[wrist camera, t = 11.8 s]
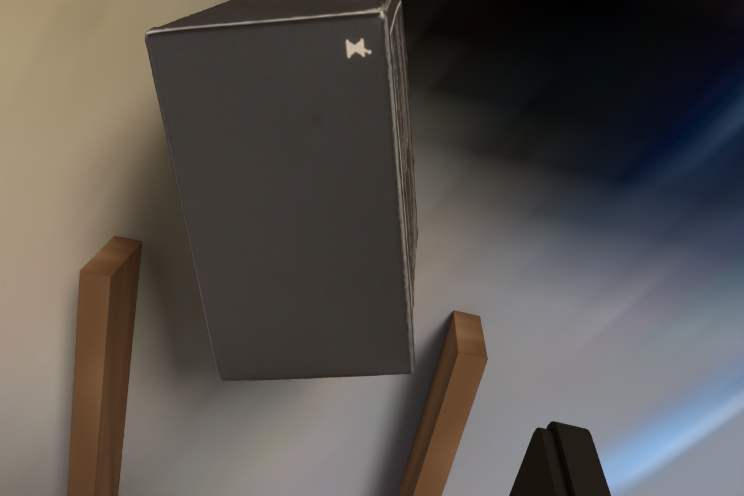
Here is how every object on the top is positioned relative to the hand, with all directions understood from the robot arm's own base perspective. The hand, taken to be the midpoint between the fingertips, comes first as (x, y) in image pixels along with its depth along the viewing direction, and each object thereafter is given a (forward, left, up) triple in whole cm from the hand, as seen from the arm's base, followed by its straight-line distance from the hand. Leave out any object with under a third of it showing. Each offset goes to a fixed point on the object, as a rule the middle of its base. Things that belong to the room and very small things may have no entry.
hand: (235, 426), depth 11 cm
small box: (0, 0, -19) cm, 19 cm away
